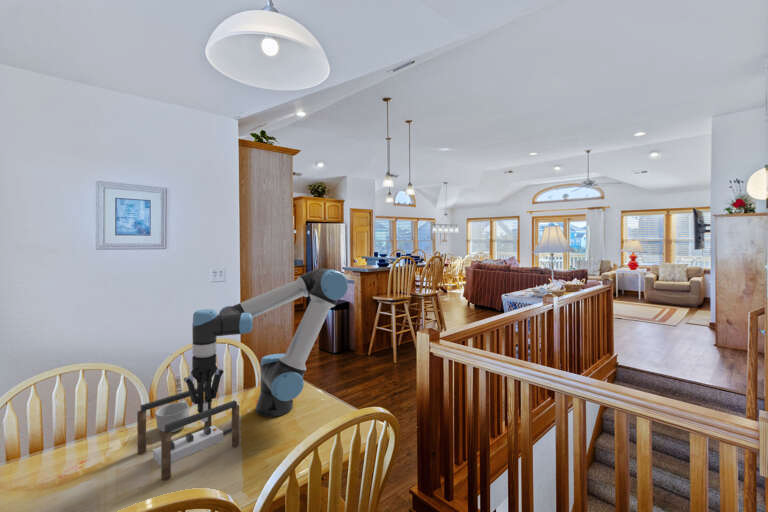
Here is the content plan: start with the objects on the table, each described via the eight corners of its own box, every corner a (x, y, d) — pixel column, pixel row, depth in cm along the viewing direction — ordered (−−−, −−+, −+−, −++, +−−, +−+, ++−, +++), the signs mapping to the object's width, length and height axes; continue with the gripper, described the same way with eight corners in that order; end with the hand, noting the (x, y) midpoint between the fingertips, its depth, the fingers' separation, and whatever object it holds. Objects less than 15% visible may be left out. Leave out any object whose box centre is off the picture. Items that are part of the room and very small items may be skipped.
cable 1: (207, 389, 136) (207, 385, 136) (209, 390, 135) (209, 386, 135) (140, 409, 118) (140, 405, 118) (142, 411, 117) (142, 406, 117)
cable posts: (209, 424, 137) (209, 388, 137) (240, 445, 124) (240, 406, 123) (136, 452, 118) (136, 411, 118) (163, 481, 104) (163, 435, 104)
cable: (234, 404, 123) (234, 400, 123) (236, 406, 122) (236, 401, 122) (164, 430, 106) (164, 425, 106) (167, 432, 105) (167, 427, 105)
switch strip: (229, 426, 136) (229, 414, 136) (238, 433, 131) (239, 420, 131) (152, 458, 115) (152, 444, 115) (161, 467, 111) (161, 452, 111)
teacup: (173, 438, 127) (173, 416, 127) (148, 434, 129) (148, 413, 129) (201, 419, 141) (201, 399, 140) (177, 416, 143) (177, 397, 143)
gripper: (217, 348, 131) (216, 410, 132) (180, 356, 121) (179, 423, 122) (227, 352, 126) (227, 417, 127) (189, 361, 116) (189, 431, 117)
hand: (203, 420), depth 125 cm, fingers closed
